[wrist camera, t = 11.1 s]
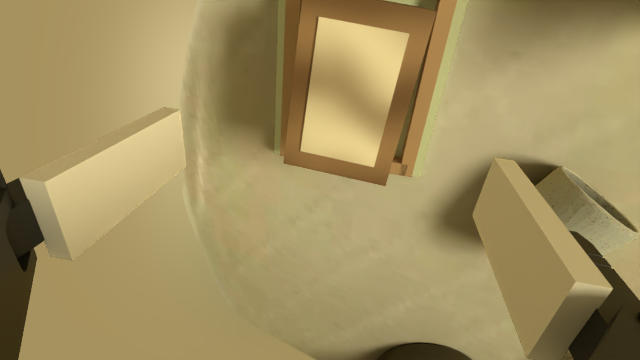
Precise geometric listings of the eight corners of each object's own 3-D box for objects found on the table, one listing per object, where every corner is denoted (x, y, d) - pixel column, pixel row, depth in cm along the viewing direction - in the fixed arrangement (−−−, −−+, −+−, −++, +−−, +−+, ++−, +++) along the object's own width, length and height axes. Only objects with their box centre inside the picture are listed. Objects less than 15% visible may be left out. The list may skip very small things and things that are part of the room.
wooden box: (385, 145, 32) (385, 187, 25) (305, 128, 33) (283, 164, 26) (424, 7, 26) (437, 11, 19) (325, -11, 27) (302, -13, 20)
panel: (419, 173, 34) (422, 188, 31) (275, 150, 36) (267, 162, 33) (477, -39, 25) (486, -42, 22) (281, -56, 27) (270, -62, 24)
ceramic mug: (479, 211, 35) (502, 263, 28) (546, 152, 31) (592, 197, 24) (556, 261, 36) (595, 322, 30) (630, 211, 32) (694, 269, 25)
